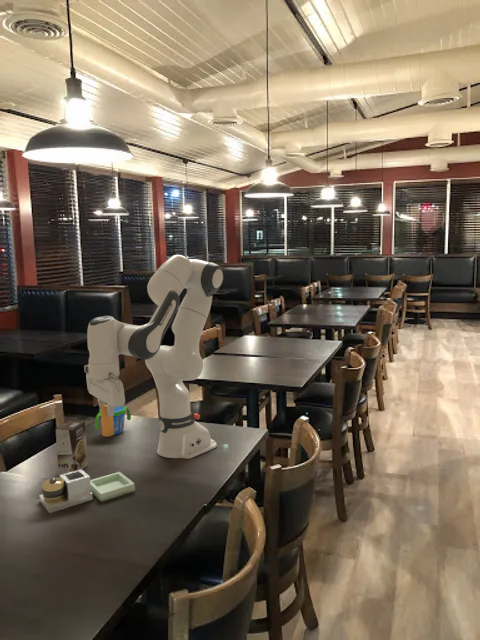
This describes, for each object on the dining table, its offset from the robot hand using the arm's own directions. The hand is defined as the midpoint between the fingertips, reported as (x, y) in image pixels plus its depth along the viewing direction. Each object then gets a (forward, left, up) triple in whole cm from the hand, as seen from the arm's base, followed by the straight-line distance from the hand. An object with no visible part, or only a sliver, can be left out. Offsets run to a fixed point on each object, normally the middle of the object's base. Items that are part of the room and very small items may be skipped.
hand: (107, 413), depth 164 cm
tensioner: (+14, -2, -25) cm, 28 cm away
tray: (0, 0, -25) cm, 25 cm away
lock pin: (0, 0, -7) cm, 7 cm away
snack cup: (-22, -47, -25) cm, 57 cm away
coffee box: (+4, -22, -25) cm, 33 cm away
